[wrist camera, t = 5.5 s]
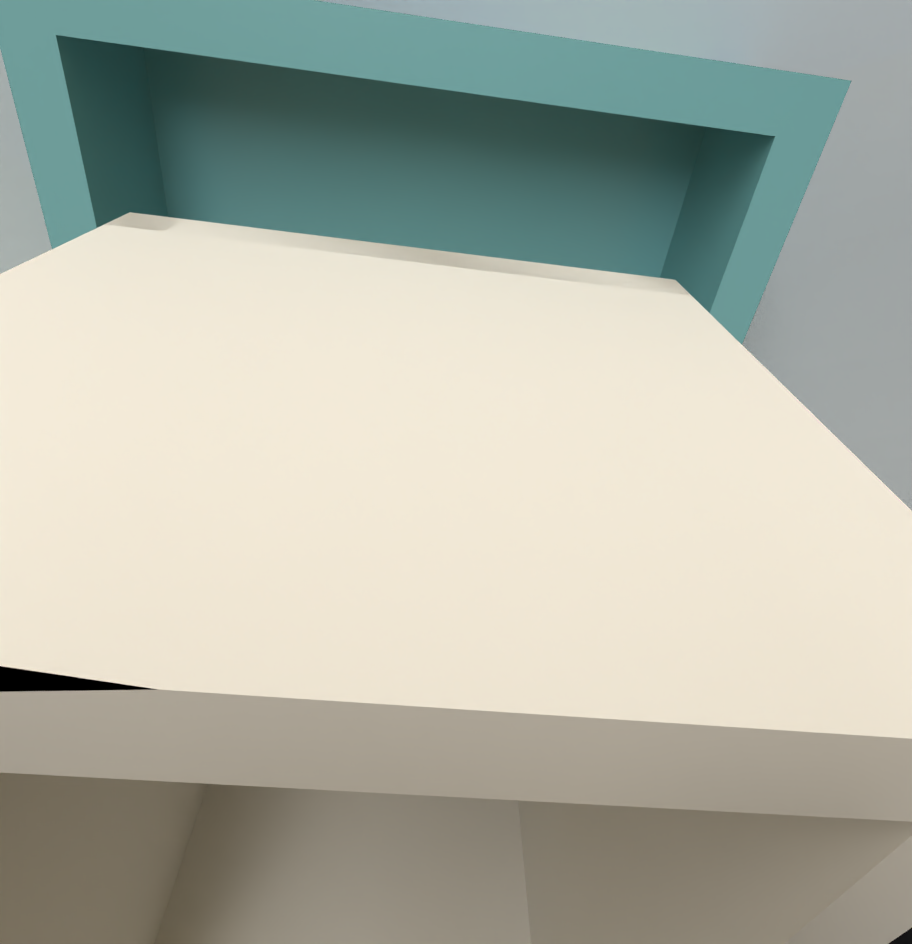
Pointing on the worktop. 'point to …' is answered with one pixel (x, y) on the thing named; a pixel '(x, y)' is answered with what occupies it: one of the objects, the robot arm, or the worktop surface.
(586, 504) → the small crate
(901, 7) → the worktop surface
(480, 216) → the big crate
